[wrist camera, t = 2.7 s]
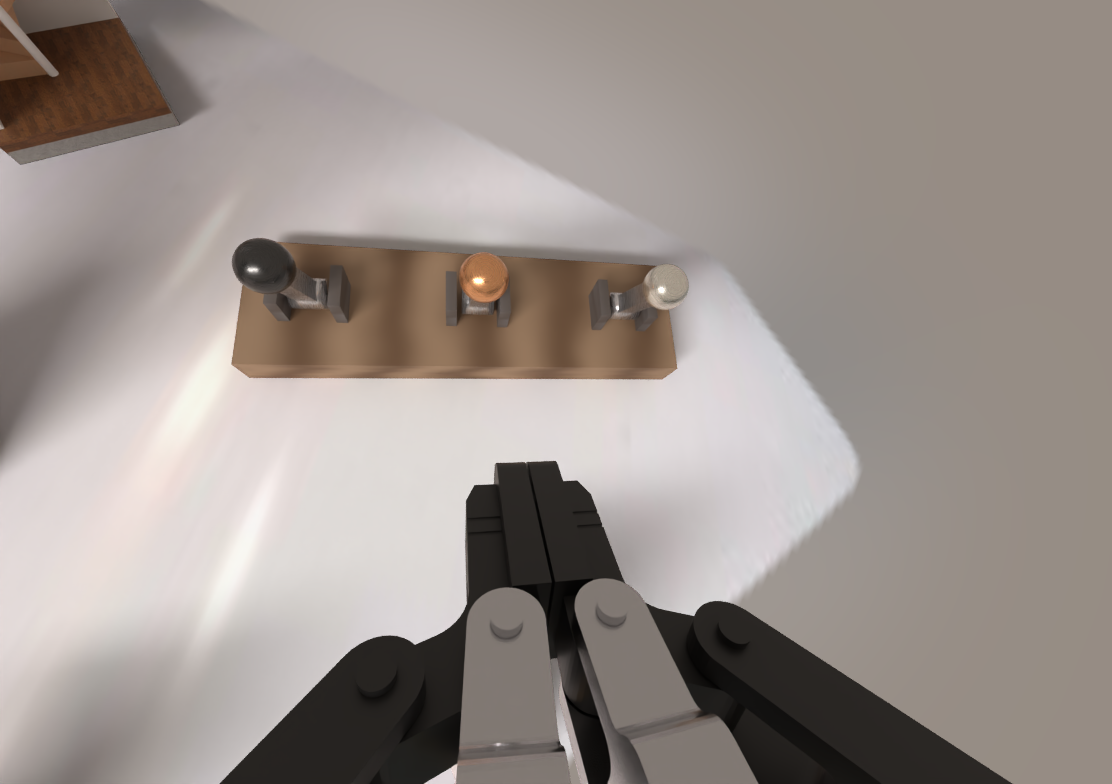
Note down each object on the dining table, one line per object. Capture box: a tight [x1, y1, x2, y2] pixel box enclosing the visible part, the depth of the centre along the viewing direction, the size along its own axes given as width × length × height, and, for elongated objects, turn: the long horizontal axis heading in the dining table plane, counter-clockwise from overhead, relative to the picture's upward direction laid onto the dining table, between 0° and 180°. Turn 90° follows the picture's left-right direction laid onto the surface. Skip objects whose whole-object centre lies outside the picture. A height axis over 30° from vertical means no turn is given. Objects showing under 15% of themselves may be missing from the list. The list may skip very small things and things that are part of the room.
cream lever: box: [609, 264, 689, 320], centre depth 34 cm, size 3×3×11 cm
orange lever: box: [459, 252, 509, 315], centre depth 31 cm, size 3×3×11 cm
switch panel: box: [232, 242, 677, 379], centre depth 37 cm, size 34×10×6 cm, turn 93°
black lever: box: [232, 238, 329, 310], centre depth 29 cm, size 3×3×11 cm
